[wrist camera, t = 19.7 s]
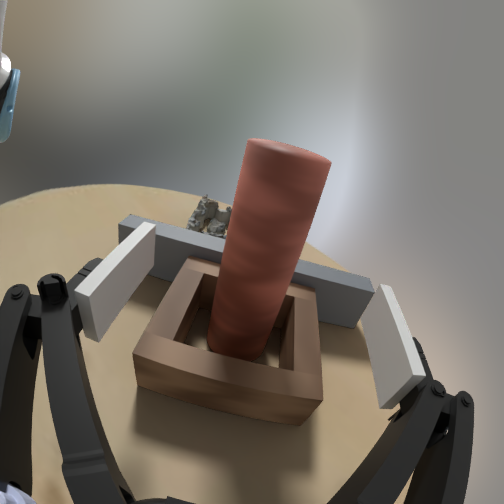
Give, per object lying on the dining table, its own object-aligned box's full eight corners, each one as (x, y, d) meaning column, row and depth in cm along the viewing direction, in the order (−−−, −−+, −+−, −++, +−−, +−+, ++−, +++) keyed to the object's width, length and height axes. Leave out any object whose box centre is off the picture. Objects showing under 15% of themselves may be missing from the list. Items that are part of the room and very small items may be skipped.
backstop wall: (119, 265, 28) (118, 223, 25) (129, 254, 30) (130, 214, 27) (353, 328, 28) (374, 292, 25) (350, 313, 30) (369, 278, 27)
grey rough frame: (200, 217, 43) (204, 192, 41) (247, 228, 43) (253, 204, 41) (177, 249, 34) (180, 219, 32) (236, 264, 34) (243, 234, 32)
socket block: (137, 385, 17) (132, 352, 15) (185, 288, 27) (189, 255, 25) (300, 425, 17) (323, 400, 15) (300, 318, 27) (314, 288, 25)
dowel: (200, 353, 21) (240, 143, 13) (214, 313, 25) (253, 135, 18) (260, 369, 21) (337, 171, 13) (266, 327, 25) (326, 155, 17)
